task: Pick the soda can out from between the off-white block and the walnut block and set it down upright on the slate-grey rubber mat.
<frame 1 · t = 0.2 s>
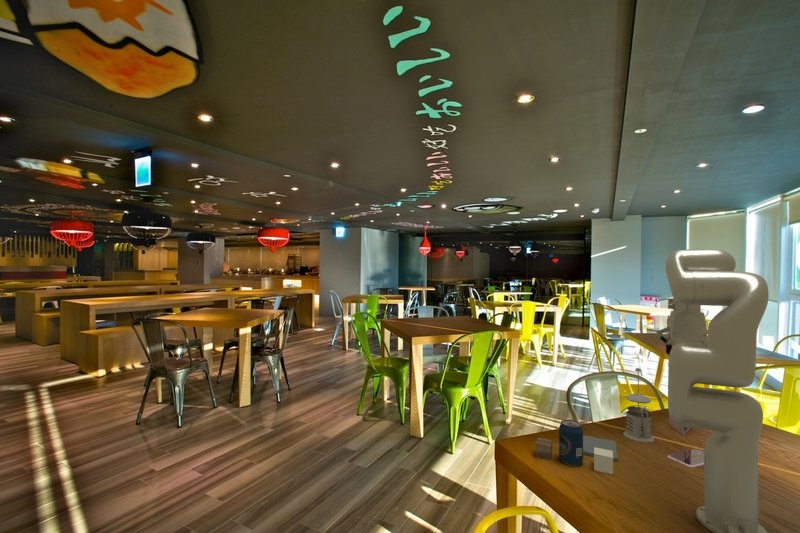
hand: (687, 357, 128), 31 cm above the table, tool pointing down, fingers open, 9 cm apart
soda can: (570, 462, 118), on the table
off-white block: (603, 468, 114), on the table
mat: (592, 447, 128), on the table
french press: (639, 437, 136), on the table
greeting card: (678, 429, 144), on the table
walnut block: (544, 455, 122), on the table
mobile phone: (693, 459, 121), on the table
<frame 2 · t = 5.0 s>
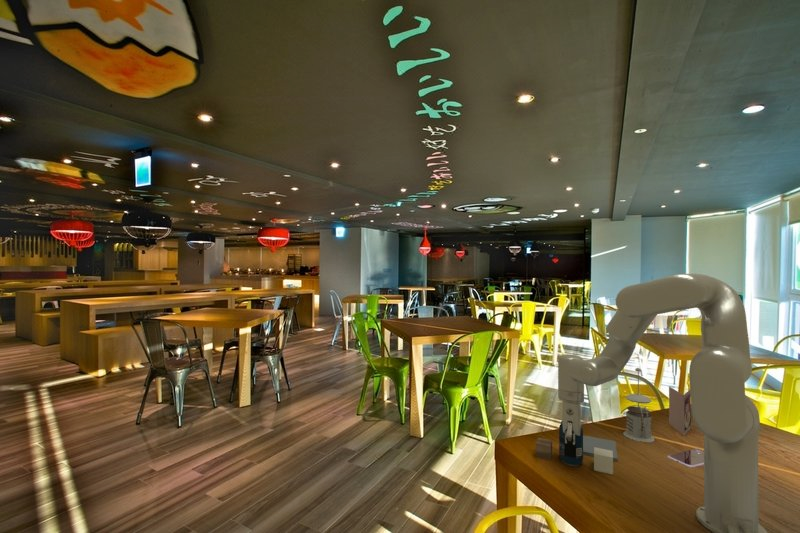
hand: (570, 450, 118), 3 cm above the table, tool pointing down, fingers closed on soda can, 6 cm apart
soda can: (570, 462, 118), on the table, touching gripper
everything else where it was.
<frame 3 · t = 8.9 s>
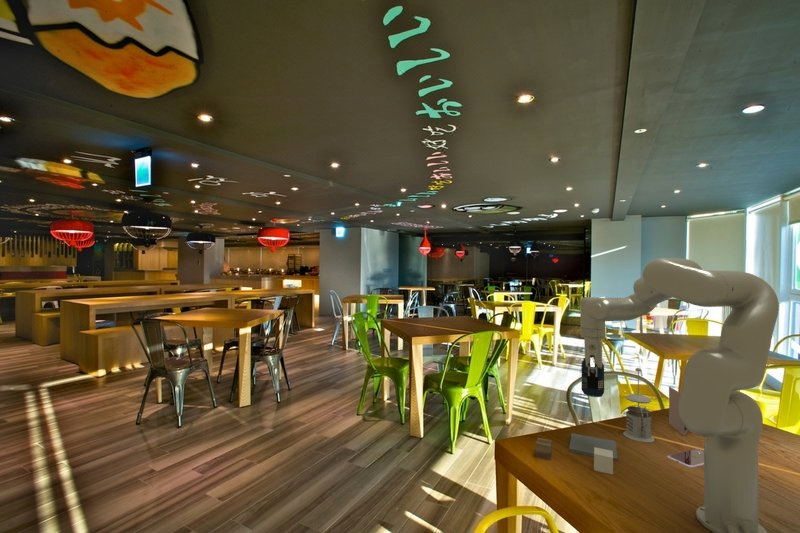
hand: (592, 385, 128), 21 cm above the table, tool pointing down, fingers closed on soda can, 6 cm apart
soda can: (592, 395, 128), point 18 cm above the table, touching gripper
everything else where it was.
when the fingers open (6 cm above the table, at t = 12.7 s): soda can drops 1 cm, resting on mat.
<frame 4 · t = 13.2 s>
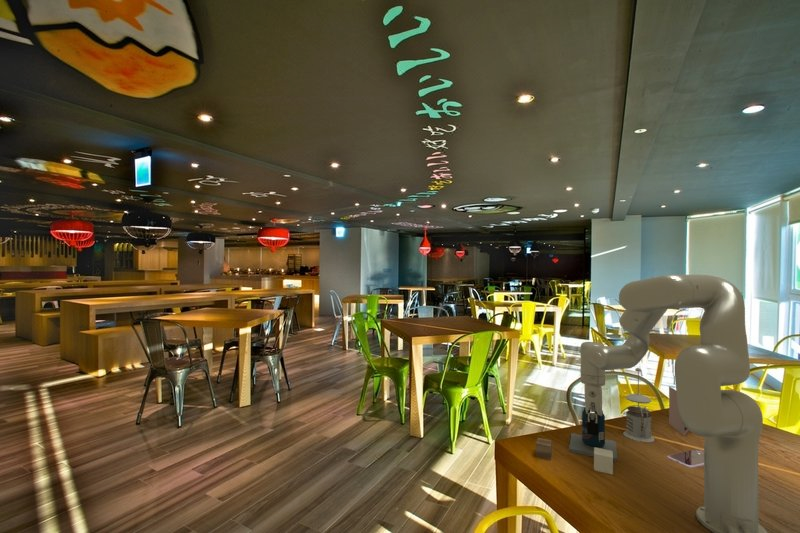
hand: (592, 429, 128), 6 cm above the table, tool pointing down, fingers open, 9 cm apart
soda can: (593, 445, 127), point 1 cm above the table, touching mat
everything else where it was.
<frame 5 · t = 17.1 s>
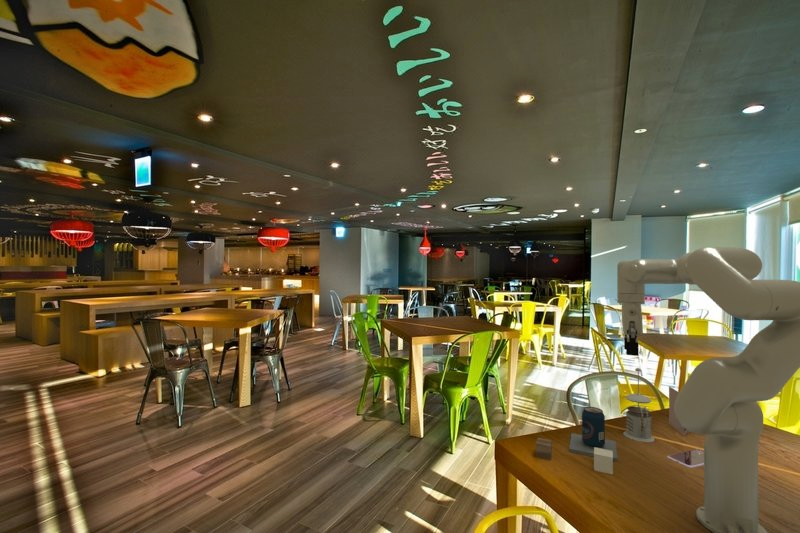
hand: (631, 352, 120), 34 cm above the table, tool pointing down, fingers open, 9 cm apart
nothing on the table moved.
at the end: soda can inside the target area on the mat (0.2 cm from its centre), point 0.8 cm above the mat's base; soda can tilted 0°; the gripper is holding nothing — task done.
